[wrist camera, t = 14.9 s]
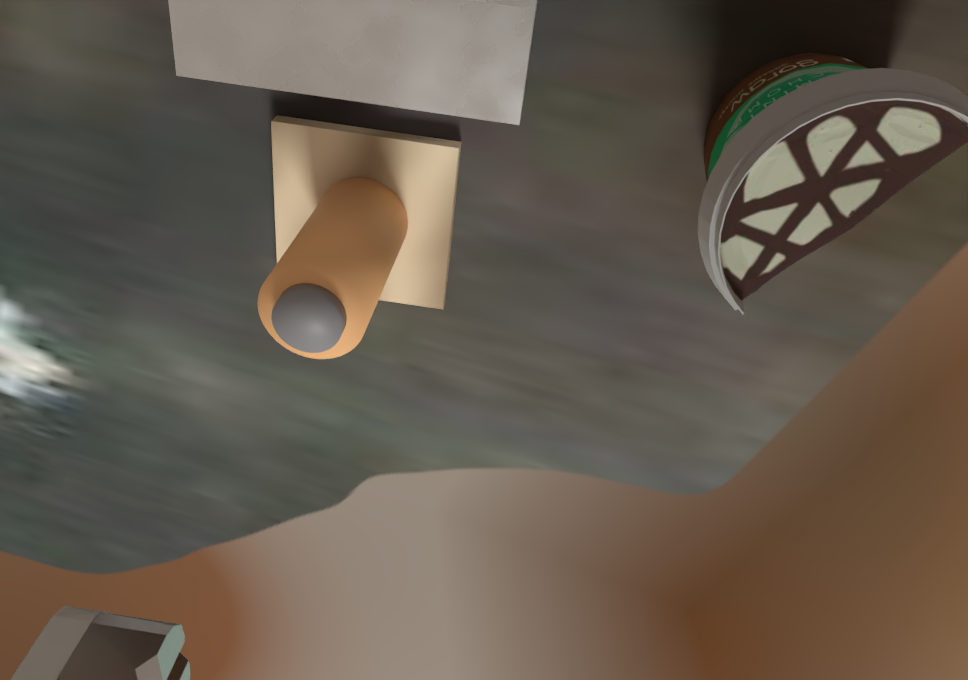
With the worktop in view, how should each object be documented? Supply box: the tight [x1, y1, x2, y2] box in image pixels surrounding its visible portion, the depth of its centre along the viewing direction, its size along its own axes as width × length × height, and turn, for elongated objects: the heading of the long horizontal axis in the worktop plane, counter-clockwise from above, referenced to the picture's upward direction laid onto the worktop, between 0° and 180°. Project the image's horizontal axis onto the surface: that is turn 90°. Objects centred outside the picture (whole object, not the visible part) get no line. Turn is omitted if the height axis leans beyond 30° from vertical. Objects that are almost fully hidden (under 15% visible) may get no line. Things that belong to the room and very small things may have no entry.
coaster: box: [271, 115, 461, 309], centre depth 44 cm, size 10×10×1 cm
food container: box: [698, 53, 968, 315], centre depth 35 cm, size 12×6×10 cm, turn 136°
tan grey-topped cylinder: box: [258, 178, 408, 359], centre depth 39 cm, size 5×5×11 cm
